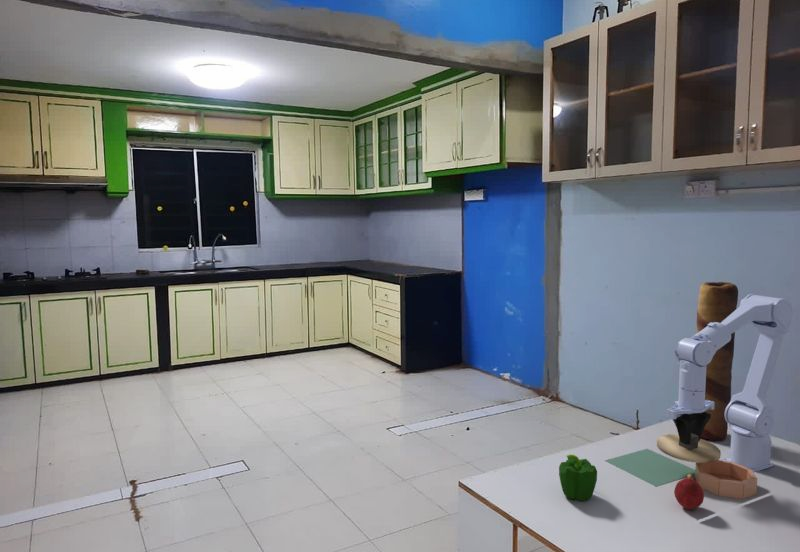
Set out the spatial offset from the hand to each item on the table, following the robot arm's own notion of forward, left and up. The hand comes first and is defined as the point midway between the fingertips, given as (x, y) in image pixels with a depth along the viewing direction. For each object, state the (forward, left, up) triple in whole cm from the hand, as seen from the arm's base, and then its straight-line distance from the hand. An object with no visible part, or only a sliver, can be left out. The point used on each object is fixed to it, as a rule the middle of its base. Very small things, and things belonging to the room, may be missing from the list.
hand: (689, 441), depth 138 cm
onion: (+14, +10, -9) cm, 19 cm away
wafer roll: (-29, -15, -9) cm, 34 cm away
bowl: (-3, +7, -9) cm, 12 cm away
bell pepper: (+31, -6, -9) cm, 33 cm away
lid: (0, 0, -2) cm, 2 cm away
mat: (+4, -8, -9) cm, 13 cm away
